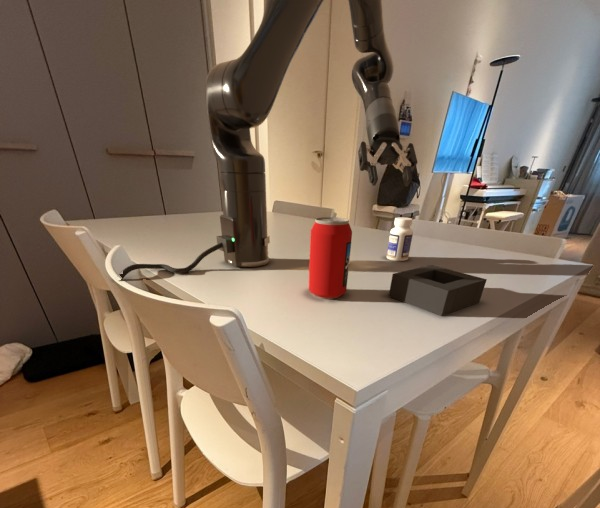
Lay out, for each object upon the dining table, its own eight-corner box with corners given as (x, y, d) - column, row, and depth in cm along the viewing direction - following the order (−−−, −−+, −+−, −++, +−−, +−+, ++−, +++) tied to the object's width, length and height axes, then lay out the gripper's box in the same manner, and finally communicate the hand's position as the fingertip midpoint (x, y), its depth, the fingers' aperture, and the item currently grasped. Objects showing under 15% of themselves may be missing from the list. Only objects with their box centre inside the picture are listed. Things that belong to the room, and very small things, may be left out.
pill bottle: (406, 256, 85) (413, 217, 80) (409, 261, 81) (417, 220, 76) (385, 255, 85) (391, 216, 80) (387, 260, 81) (394, 219, 76)
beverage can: (353, 296, 60) (362, 221, 53) (322, 303, 57) (327, 224, 50) (331, 286, 64) (336, 215, 57) (301, 291, 61) (303, 217, 54)
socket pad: (441, 316, 53) (448, 290, 51) (388, 296, 60) (392, 273, 58) (479, 302, 58) (487, 279, 56) (426, 286, 65) (431, 264, 63)
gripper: (359, 110, 80) (369, 170, 78) (414, 113, 82) (426, 171, 80) (350, 139, 87) (359, 194, 85) (401, 141, 89) (411, 195, 87)
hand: (391, 183), depth 82 cm, fingers open, 8 cm apart
